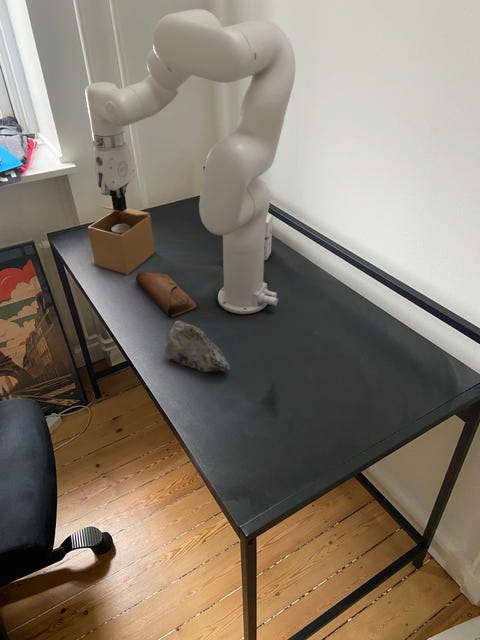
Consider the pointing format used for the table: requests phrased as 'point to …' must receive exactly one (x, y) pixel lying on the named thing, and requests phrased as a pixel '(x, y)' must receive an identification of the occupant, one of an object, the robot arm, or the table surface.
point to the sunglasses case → (165, 293)
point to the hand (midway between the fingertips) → (120, 209)
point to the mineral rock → (194, 349)
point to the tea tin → (120, 228)
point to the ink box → (268, 236)
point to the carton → (121, 241)
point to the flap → (129, 211)
